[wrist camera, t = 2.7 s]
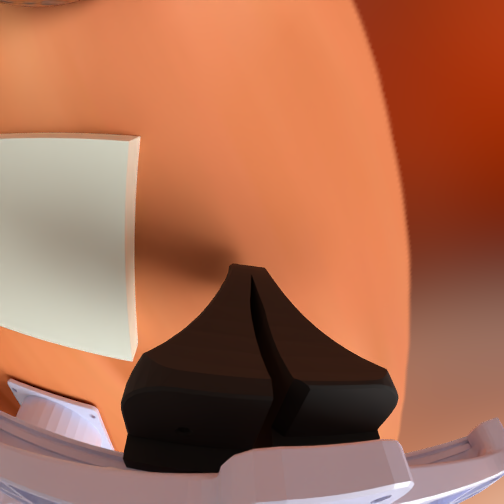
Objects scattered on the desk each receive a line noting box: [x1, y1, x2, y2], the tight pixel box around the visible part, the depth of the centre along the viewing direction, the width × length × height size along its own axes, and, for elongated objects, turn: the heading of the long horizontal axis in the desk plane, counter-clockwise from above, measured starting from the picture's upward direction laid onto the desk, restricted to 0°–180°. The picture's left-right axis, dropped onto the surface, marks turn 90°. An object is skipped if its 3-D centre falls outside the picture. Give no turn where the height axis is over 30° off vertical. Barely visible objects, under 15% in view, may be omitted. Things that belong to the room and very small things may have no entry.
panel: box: [0, 133, 141, 361], centre depth 11 cm, size 10×9×2 cm
